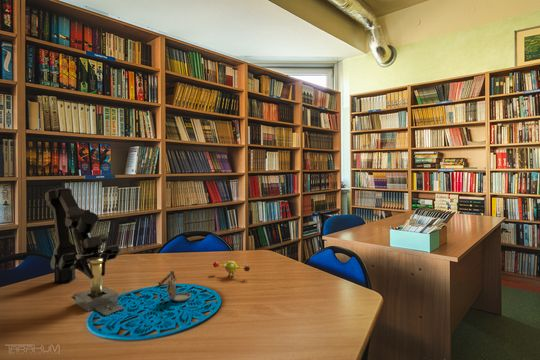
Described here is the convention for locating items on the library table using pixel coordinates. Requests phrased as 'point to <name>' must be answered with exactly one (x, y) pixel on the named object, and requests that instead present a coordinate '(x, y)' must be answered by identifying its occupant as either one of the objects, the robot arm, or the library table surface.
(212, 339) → the library table surface
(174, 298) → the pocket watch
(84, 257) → the robot arm
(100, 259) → the pin
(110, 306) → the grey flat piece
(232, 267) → the toy figure
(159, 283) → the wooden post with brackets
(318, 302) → the library table surface
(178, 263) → the library table surface
